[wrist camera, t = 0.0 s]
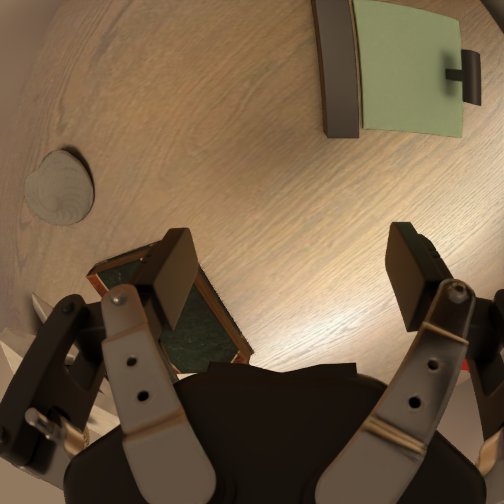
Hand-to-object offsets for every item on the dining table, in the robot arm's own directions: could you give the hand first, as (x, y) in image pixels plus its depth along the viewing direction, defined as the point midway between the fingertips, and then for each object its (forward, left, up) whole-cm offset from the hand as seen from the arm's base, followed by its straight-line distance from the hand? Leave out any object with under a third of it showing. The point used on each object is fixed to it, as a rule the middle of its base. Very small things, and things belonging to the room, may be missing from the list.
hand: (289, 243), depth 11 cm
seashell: (+2, -30, -20) cm, 36 cm away
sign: (-8, +13, -19) cm, 25 cm away
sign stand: (-8, +5, -20) cm, 22 cm away
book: (+25, -19, -20) cm, 37 cm away
